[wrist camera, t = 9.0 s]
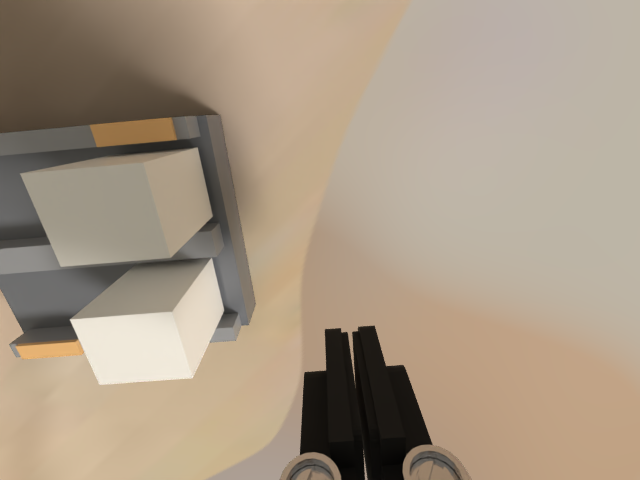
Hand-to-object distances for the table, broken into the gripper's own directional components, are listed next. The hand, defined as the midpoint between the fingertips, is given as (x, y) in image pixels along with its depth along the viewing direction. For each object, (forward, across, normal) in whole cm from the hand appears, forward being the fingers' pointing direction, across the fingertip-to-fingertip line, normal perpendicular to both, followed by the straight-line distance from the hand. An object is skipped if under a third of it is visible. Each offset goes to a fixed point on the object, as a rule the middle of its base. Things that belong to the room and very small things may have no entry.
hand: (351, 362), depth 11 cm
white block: (+5, +7, -6) cm, 11 cm away
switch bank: (+8, +11, -3) cm, 14 cm away
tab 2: (+5, +8, -1) cm, 9 cm away
